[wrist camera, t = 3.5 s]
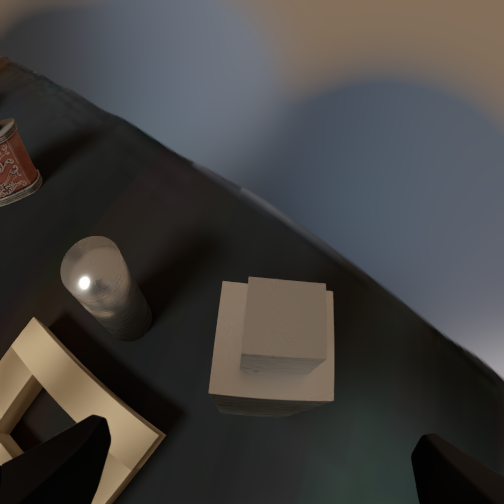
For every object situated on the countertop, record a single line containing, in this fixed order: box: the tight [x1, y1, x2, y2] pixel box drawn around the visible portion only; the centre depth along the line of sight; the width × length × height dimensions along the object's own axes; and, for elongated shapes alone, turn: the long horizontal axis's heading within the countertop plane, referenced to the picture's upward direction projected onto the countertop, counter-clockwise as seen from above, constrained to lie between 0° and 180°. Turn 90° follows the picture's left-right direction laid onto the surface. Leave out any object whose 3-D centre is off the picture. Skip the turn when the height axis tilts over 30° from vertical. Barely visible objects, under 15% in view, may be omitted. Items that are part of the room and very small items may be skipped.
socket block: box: [0, 317, 166, 504], centre depth 14 cm, size 11×11×2 cm
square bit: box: [209, 277, 334, 418], centre depth 13 cm, size 4×4×12 cm
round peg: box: [61, 236, 152, 341], centre depth 17 cm, size 3×3×7 cm
